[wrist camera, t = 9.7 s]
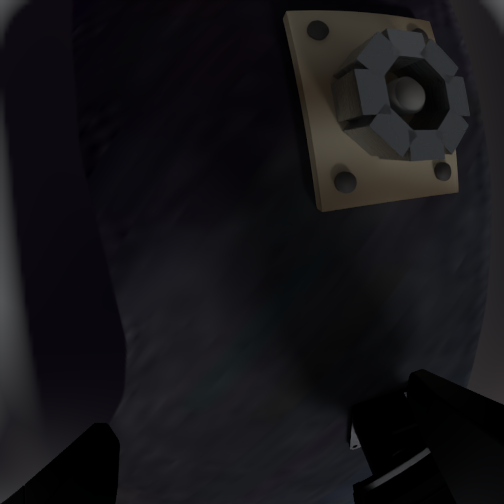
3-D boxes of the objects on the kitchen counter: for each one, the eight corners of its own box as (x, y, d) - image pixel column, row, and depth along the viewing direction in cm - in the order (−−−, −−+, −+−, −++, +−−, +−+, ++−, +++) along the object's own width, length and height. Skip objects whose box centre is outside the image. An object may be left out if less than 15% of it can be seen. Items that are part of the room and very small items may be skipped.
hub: (438, 154, 16) (474, 157, 13) (343, 162, 16) (370, 165, 13) (420, 53, 14) (453, 39, 11) (322, 48, 14) (343, 25, 11)
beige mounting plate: (448, 189, 18) (491, 200, 14) (316, 208, 18) (342, 225, 14) (420, 26, 15) (457, 6, 10) (282, 19, 15) (297, -17, 10)
